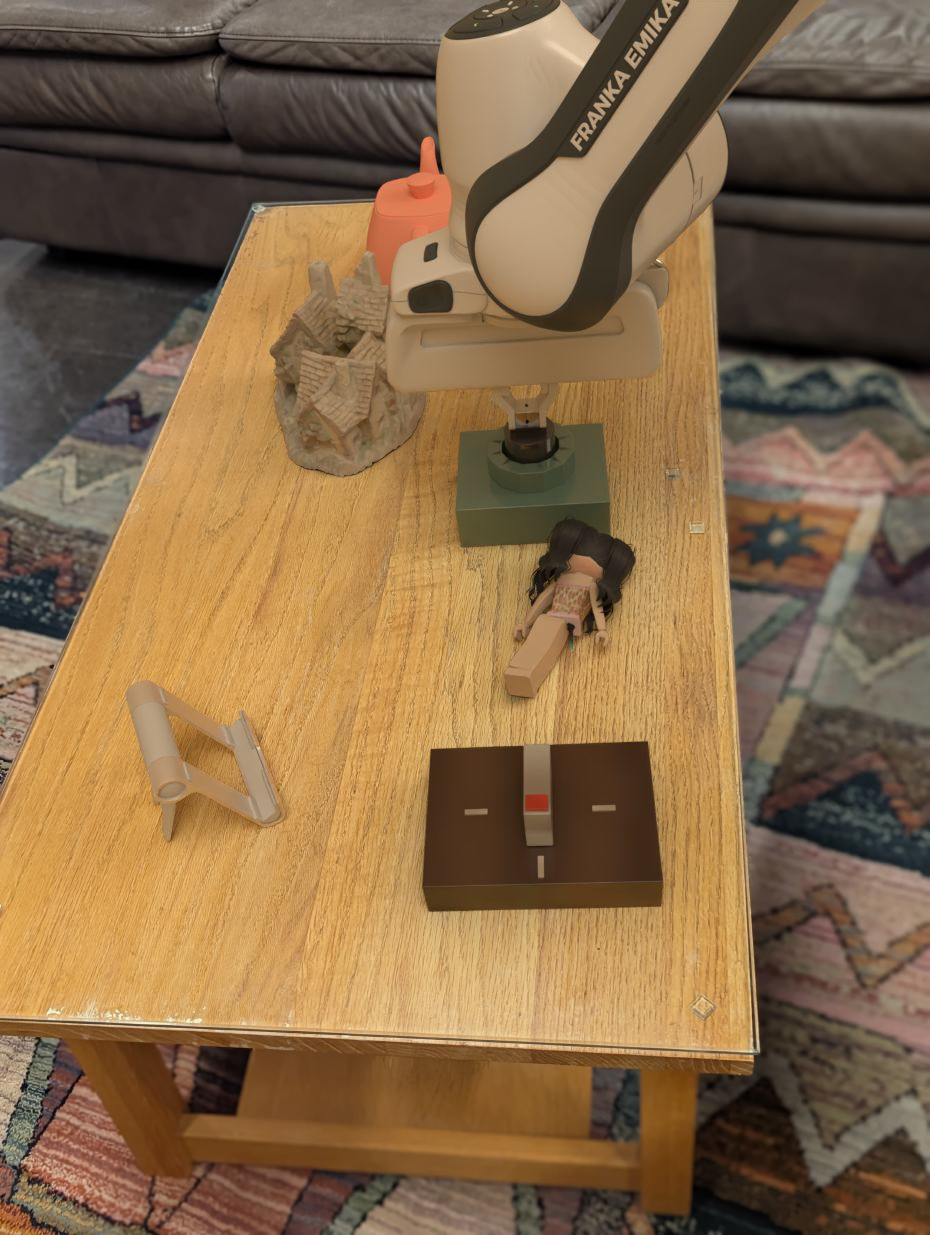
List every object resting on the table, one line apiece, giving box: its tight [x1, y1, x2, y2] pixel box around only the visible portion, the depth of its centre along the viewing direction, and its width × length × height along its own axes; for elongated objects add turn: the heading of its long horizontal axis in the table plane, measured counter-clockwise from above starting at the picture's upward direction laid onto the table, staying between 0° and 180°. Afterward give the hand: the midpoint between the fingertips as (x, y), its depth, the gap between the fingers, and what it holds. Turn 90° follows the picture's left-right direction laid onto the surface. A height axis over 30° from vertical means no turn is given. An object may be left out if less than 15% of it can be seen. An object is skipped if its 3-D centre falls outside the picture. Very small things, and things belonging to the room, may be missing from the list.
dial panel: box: [421, 740, 664, 912], centre depth 67 cm, size 14×10×3 cm
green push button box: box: [455, 421, 611, 548], centre depth 88 cm, size 12×10×6 cm
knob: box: [504, 416, 556, 464], centre depth 85 cm, size 4×4×2 cm
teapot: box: [365, 136, 451, 293], centre depth 111 cm, size 13×20×12 cm, turn 179°
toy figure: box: [502, 515, 637, 699], centre depth 78 cm, size 7×6×15 cm
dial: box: [522, 743, 553, 846], centre depth 65 cm, size 5×2×4 cm, turn 178°
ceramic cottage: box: [269, 250, 426, 478], centre depth 96 cm, size 16×16×15 cm
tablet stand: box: [125, 679, 287, 842], centre depth 70 cm, size 9×8×8 cm
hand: (527, 424), depth 84 cm, fingers closed
